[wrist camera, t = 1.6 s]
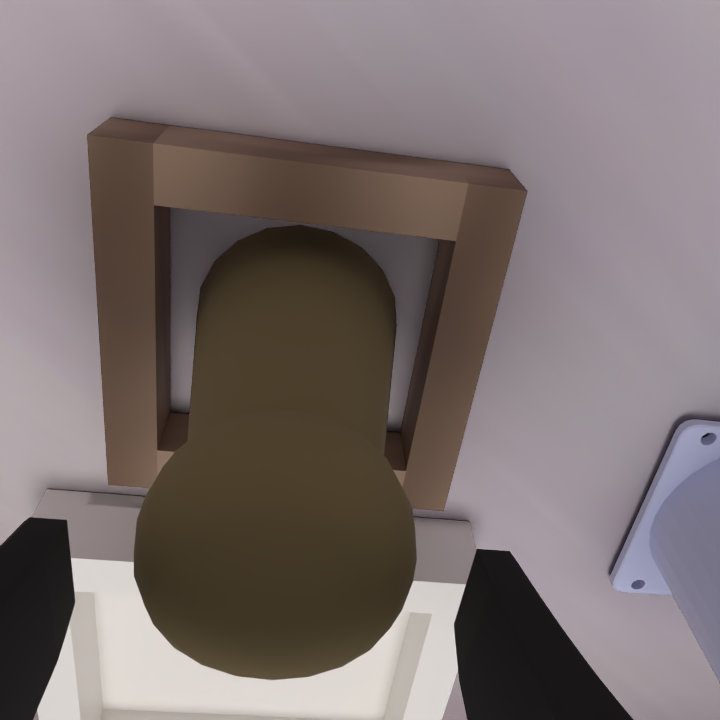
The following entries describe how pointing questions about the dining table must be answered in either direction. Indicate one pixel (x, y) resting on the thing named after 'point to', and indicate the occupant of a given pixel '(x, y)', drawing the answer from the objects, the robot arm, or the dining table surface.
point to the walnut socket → (304, 205)
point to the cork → (282, 467)
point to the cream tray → (222, 690)
